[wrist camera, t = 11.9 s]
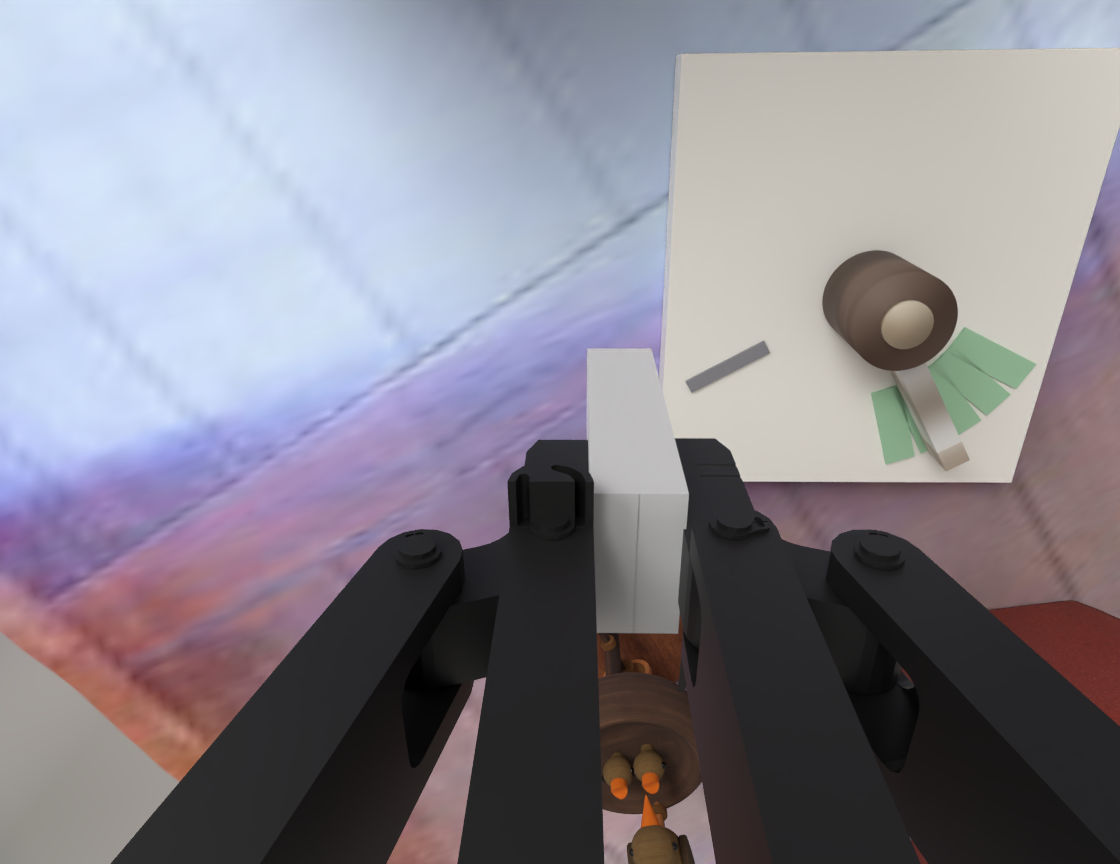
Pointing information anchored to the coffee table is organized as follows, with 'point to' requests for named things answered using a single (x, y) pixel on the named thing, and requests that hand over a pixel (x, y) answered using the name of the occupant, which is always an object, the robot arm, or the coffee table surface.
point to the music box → (646, 739)
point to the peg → (899, 335)
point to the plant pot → (1071, 649)
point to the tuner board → (873, 245)
